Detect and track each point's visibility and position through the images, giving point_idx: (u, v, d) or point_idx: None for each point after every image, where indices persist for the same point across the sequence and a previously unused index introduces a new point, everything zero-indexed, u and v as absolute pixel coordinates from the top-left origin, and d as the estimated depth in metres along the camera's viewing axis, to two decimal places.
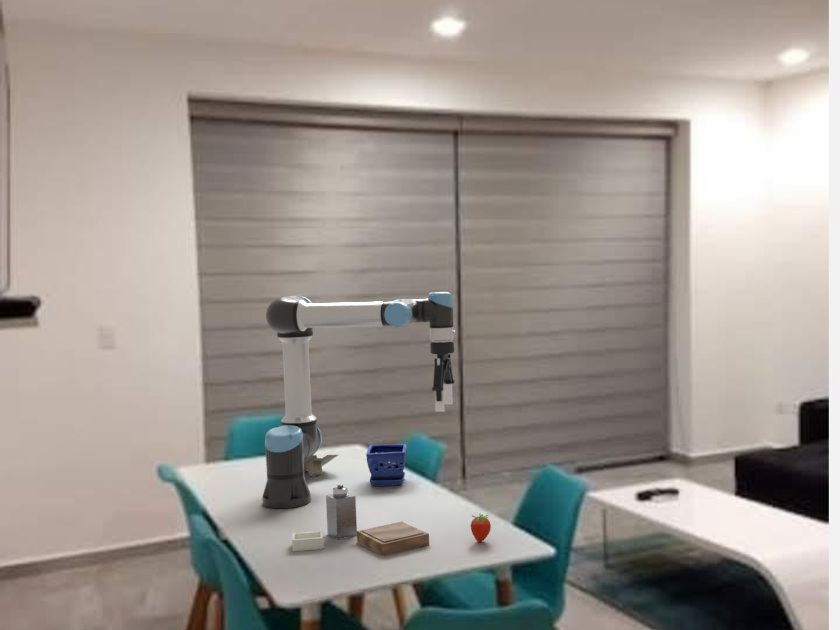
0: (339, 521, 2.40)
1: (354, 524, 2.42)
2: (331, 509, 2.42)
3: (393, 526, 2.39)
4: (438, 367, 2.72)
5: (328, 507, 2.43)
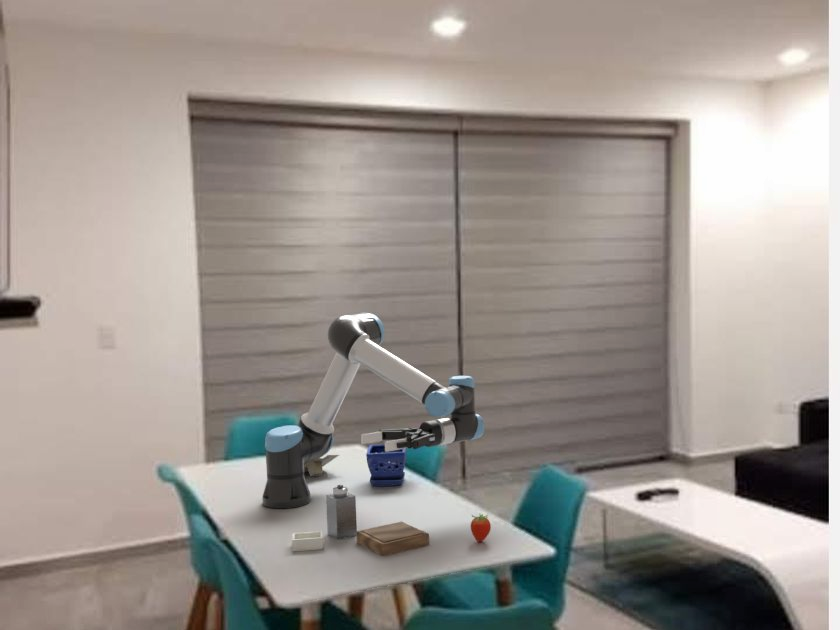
0: (339, 521, 2.40)
1: (354, 524, 2.42)
2: (331, 509, 2.42)
3: (393, 526, 2.39)
4: (428, 440, 2.49)
5: (328, 507, 2.43)
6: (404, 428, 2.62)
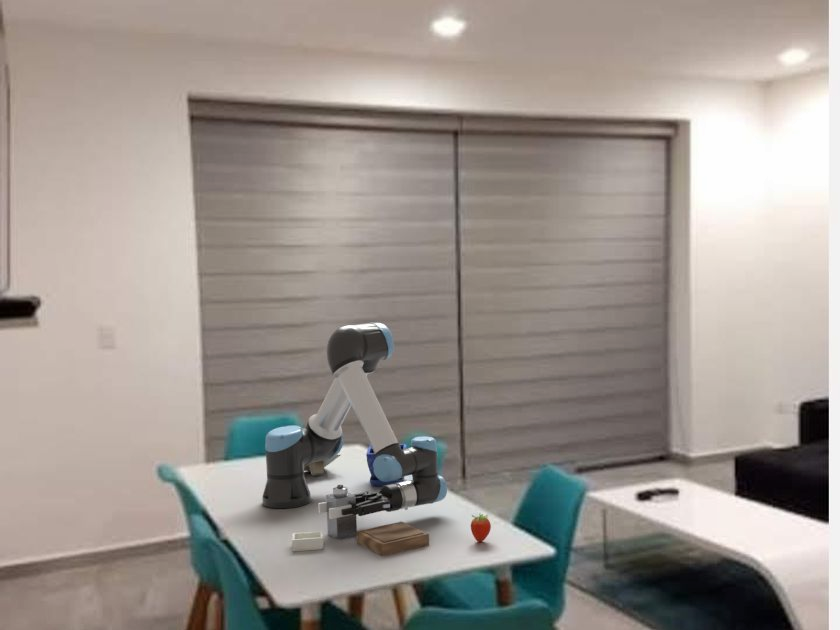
0: (339, 521, 2.40)
1: (354, 524, 2.42)
2: None
3: (393, 526, 2.39)
4: (380, 507, 2.43)
5: (328, 507, 2.43)
6: None
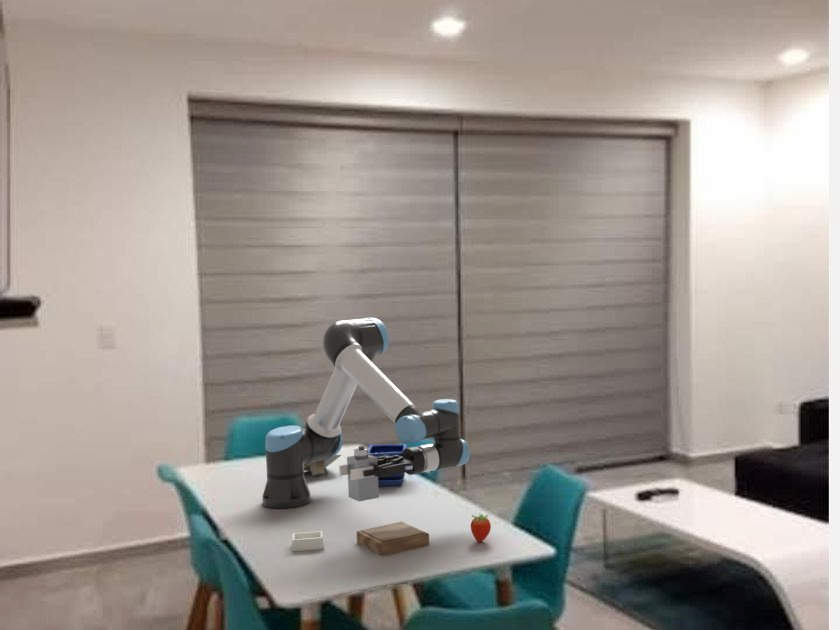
0: (360, 482, 2.34)
1: (376, 486, 2.37)
2: None
3: (393, 526, 2.39)
4: (403, 468, 2.37)
5: (349, 469, 2.38)
6: (382, 456, 2.48)
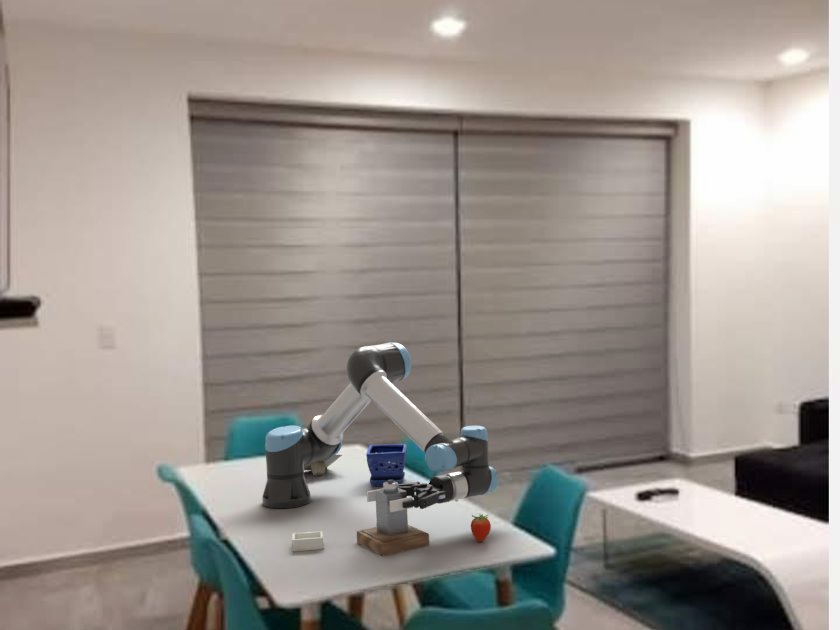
0: (390, 517, 2.30)
1: (405, 520, 2.33)
2: (381, 505, 2.32)
3: None
4: (437, 498, 2.33)
5: (378, 503, 2.34)
6: None
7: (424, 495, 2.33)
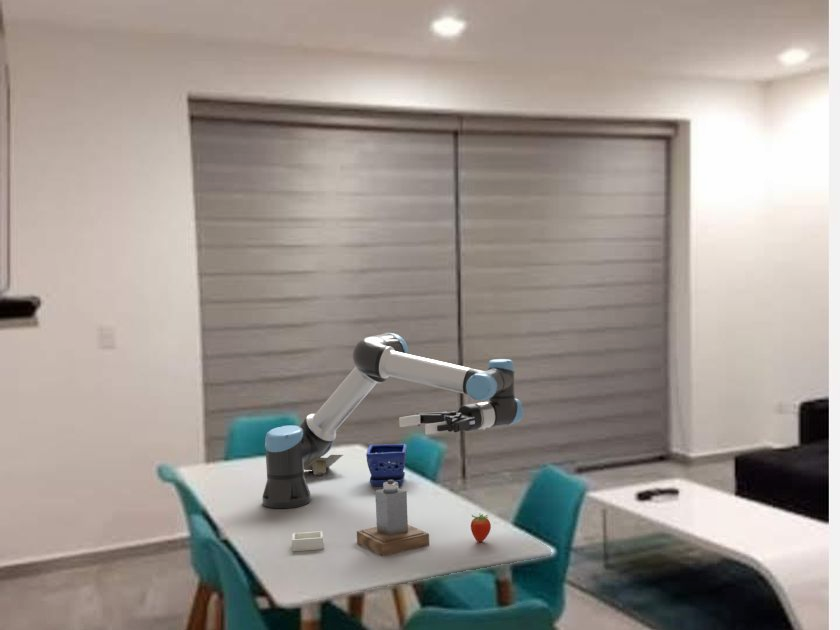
0: (390, 517, 2.30)
1: (405, 520, 2.33)
2: (381, 505, 2.32)
3: None
4: (468, 423, 2.44)
5: (378, 503, 2.34)
6: (442, 412, 2.56)
7: (456, 421, 2.44)
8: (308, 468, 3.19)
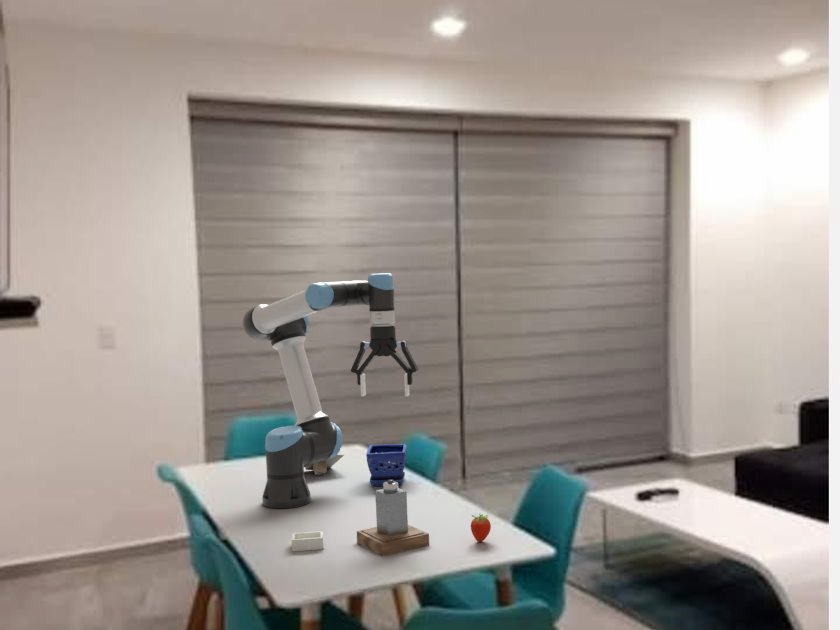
0: (390, 517, 2.30)
1: (405, 520, 2.33)
2: (381, 505, 2.32)
3: None
4: None
5: (378, 503, 2.34)
6: (406, 346, 2.63)
7: None
8: (310, 468, 3.19)
